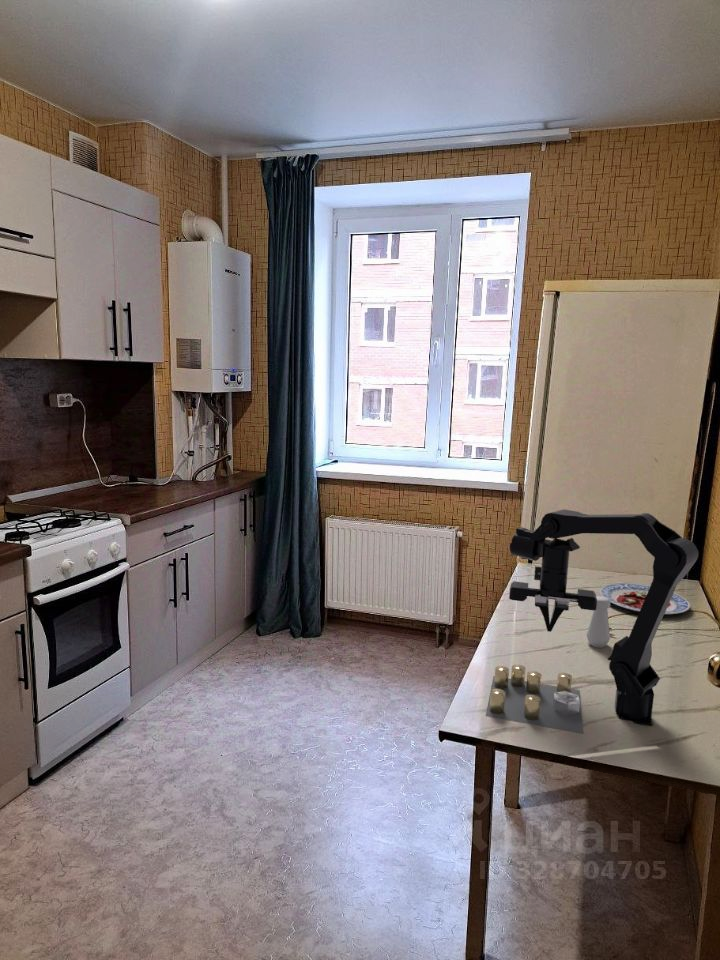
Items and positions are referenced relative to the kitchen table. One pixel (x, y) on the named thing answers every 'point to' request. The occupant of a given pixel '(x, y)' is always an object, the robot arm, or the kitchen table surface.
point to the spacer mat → (546, 713)
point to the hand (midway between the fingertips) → (549, 630)
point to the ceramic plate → (639, 597)
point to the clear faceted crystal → (566, 703)
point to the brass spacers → (518, 681)
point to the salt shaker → (599, 624)
